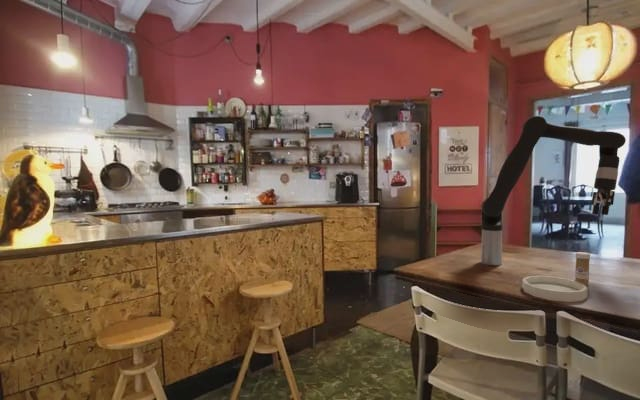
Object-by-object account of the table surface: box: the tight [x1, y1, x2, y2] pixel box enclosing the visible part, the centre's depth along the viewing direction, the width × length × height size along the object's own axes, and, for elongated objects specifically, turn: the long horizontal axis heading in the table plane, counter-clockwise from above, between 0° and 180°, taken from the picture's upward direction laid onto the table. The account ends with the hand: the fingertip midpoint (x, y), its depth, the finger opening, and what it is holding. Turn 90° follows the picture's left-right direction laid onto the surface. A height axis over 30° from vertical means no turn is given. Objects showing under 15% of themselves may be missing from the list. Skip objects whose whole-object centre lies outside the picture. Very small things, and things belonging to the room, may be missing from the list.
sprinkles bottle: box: [574, 251, 591, 288], centre depth 142 cm, size 5×5×13 cm
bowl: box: [521, 275, 589, 303], centre depth 136 cm, size 20×20×4 cm
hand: (599, 214), depth 159 cm, fingers open, 8 cm apart
